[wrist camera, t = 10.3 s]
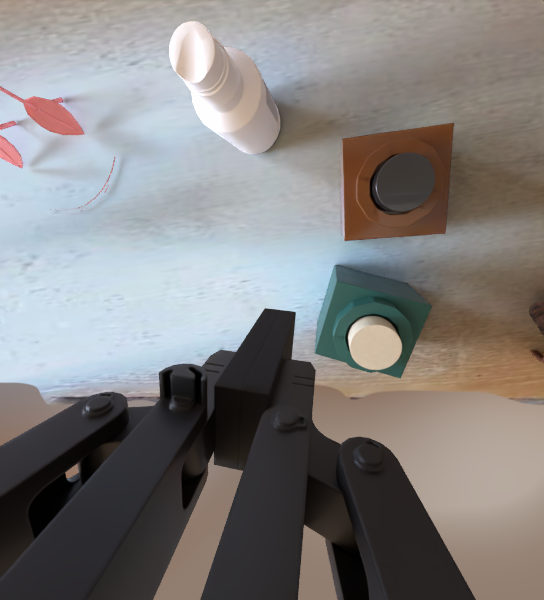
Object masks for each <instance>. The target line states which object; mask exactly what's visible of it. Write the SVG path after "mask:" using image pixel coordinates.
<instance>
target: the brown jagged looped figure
mask: <svg viewBox="0 0 544 600" xmlns="http://www.w3.org/2000/svg"><path fill="white" fill-rule="evenodd" d="M529 313H530V316H531V317H532V319H533V320H534V322H535V323H536V324H537V325H538V328H539V329H540V331H541V333H542V334H543V335H544V301H541V302H536V303H534V304H533V305H532V306H531V307H530V310H529ZM530 352H531V353H532V355H533V356H535V357H536V359H537V360H539V361H541V362H543V363H544V356H543V355H542V354H541V353H540V352H539V351H536V350H530Z"/></svg>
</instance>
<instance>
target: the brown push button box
mask: <svg viewBox="0 0 544 600" xmlns="http://www.w3.org/2000/svg"><path fill="white" fill-rule="evenodd" d="M453 127H454V123H449V124H442V125H435V126H428V127H421V128H414V129H407V130H400V131H393V132H386V133H379V134H372V135H365V136H358V137H351V138H344V139H342V144H341V149H340V154H339V157H340V201H341V235H342V237H343V239H344V241H350V240H363V239H377V238H391V237H404V236H418V235H432V234H445V233H446V220H447V207H448V193H449V180H450V167H451V154H452V140H453ZM407 152H412V153H418V154H420V155H422V156H424V157H425V158H427V159H428V160H429V161H430V163H431V164H432V166H433V168H434V172H435V184H434V188H433V190H432V192H431V194H430V196H429V197H428V199H427V200H426V201H425V202H424V203H423V204H421V205H420V206H419V207H417V208H415V209H413V210H410V211H405V212H392V211H388V210H385V209H383V208H382V207H380V206H379V205H378V204H377V202H376V201H375V199H374V197H373V193H372V183H373V179H374V177H375V175H376V173H377V171H378V170H379V169H380V168H381V167H382V166H383V165H384V164H385V163H386V162H387V161H388V160H390V159H391V158H393V157H394V156H396V155H398V154H402V153H407Z"/></svg>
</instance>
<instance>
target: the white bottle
mask: <svg viewBox="0 0 544 600" xmlns="http://www.w3.org/2000/svg"><path fill="white" fill-rule="evenodd" d="M169 54H170V60H171V63H172V66H173V68H174V70H175V71H176V73H177V74H178V75H179V76H180V77H181V78H182V79H183V80H184V82H185V84H186V85H187V86H188V88H189V89H190V90H191V91H192V101H193V104H194V107H195V110H196V113H197V115H198V116H199V117H200V119H201V120H202V122H203V123H204V124H205V125H206V126H207V127H209V128H210V129H211V130H213V131H214V132H216V133H217V134H218V135H220V136H221V137H223V138H224V139H225V140H227V141H228V142H230V143H231V144H233V145H234V146H235V147H237V148H238V149H240V150H241V151H243V152H245V153H248V154H260V153H262V152H264V151H266V150H268V149H269V148H270V147H271V146H272V145H273V144H274V142H275V141H276V139H277V137H278V134H279V131H280V115H279V112H278V108H277V106H276V104H275V102H274V100H273V98H272V96H271V94H270V92H269V90H268V88H267V86H266V84H265V82H264V80H263V78H262V76H261V74H260V72H259V70H258V68H257V66H256V65H255V63H254V62H253V60H252V59H251V58H250V57H249V56H248V55H246V54H245V53H244V52H242V51H241V50H238V49H235V48H232V47H223V45H222V44H221V42H219V41H218V40H217V39H215V38H214V37H213V36H212V34H211V33H210V31H209V30H208V28H206V27H205V26H204V25H203V24H201V23H198V22H195V21H190V22H185V23H183V24H182V25H180V26H179V27H178V28H177V29H176V30H175V32H174V33H173V36H172V38H171V40H170V47H169Z"/></svg>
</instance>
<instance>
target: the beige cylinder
mask: <svg viewBox="0 0 544 600" xmlns="http://www.w3.org/2000/svg"><path fill="white" fill-rule="evenodd" d="M348 341H349V348H350V353H351V356H352V358H353V359H354V361H355V362H356V363H357V364H359V365H360V366H362V367H364V368H366V369H370V370H381V369H385V368H388V367H390V366H391V365H393V364H394V363H395V362H396V361H397V360H398V358H399V357H400V355H401V352H402V343H401V339H400V337H399V336H398V334H397V332H396V330H395V329H394V327H393V325H392V324H391V323H390V322H389V321H388V320H386V319H384V318H382V317H379V316H366V317H363V318H361V319H359V320H357V321H356V322H355V323H354V324H353V325H352V326H351V328H350V330H349V333H348Z"/></svg>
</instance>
